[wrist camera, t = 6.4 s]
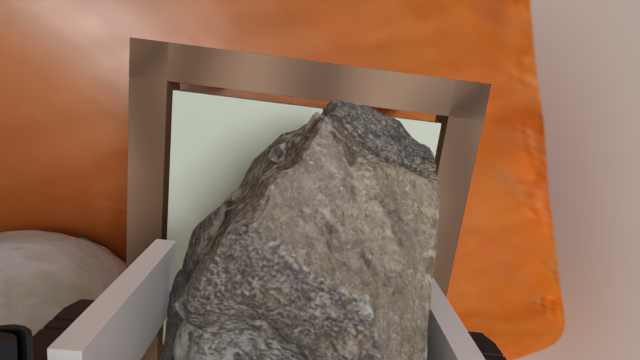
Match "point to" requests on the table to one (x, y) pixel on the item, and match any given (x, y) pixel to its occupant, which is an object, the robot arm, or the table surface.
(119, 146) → the table surface
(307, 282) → the rock
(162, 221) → the stand
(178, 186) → the trapdoor
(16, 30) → the table surface
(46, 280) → the ceramic pitcher
